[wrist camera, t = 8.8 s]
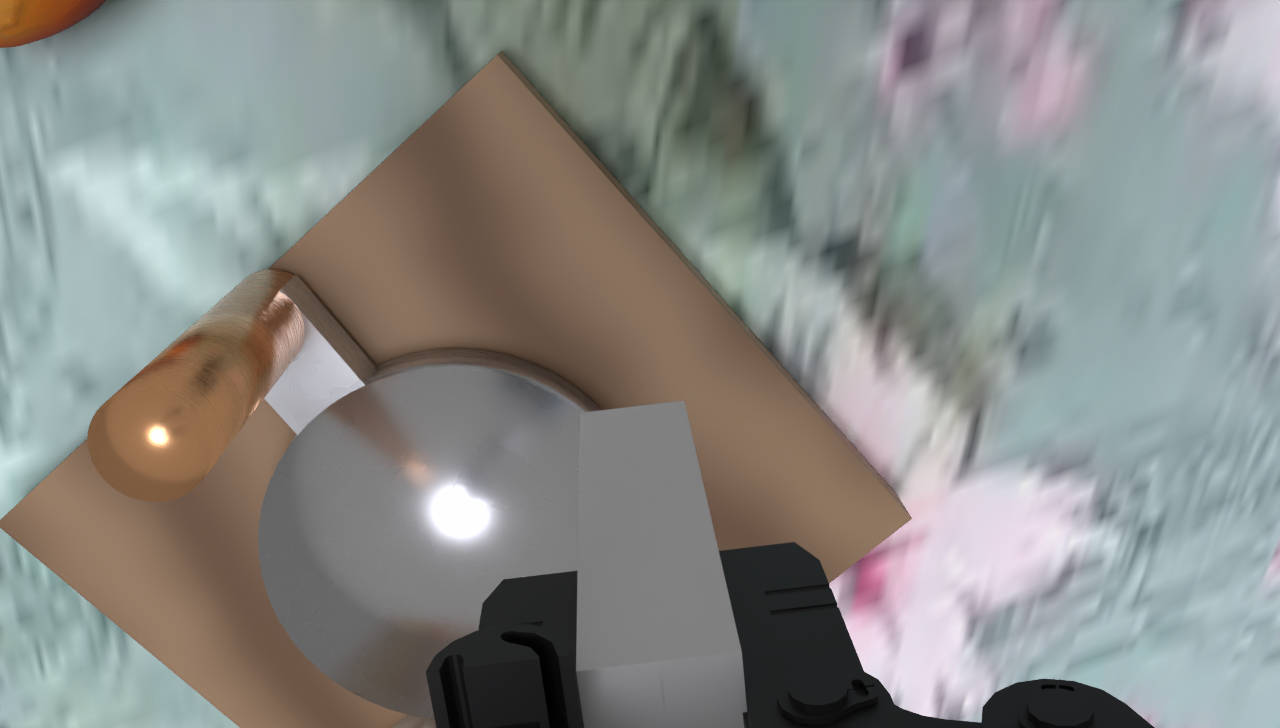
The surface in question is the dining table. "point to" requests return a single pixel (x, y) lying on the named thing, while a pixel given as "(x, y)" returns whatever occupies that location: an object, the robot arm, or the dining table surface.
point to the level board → (478, 320)
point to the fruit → (40, 18)
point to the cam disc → (361, 476)
